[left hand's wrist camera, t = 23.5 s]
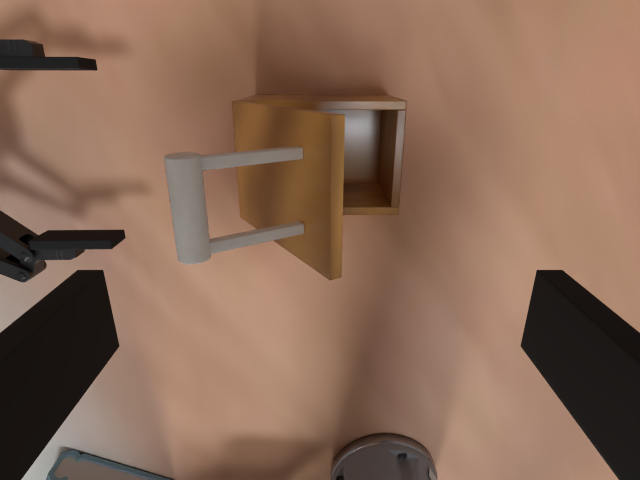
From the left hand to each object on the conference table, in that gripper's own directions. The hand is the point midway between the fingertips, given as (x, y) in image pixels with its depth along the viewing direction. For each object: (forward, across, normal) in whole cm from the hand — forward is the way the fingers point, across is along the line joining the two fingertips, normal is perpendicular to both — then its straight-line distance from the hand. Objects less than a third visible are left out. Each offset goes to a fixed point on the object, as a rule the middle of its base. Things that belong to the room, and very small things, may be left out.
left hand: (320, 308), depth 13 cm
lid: (+18, +2, 0) cm, 18 cm away
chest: (+33, 0, 0) cm, 33 cm away
